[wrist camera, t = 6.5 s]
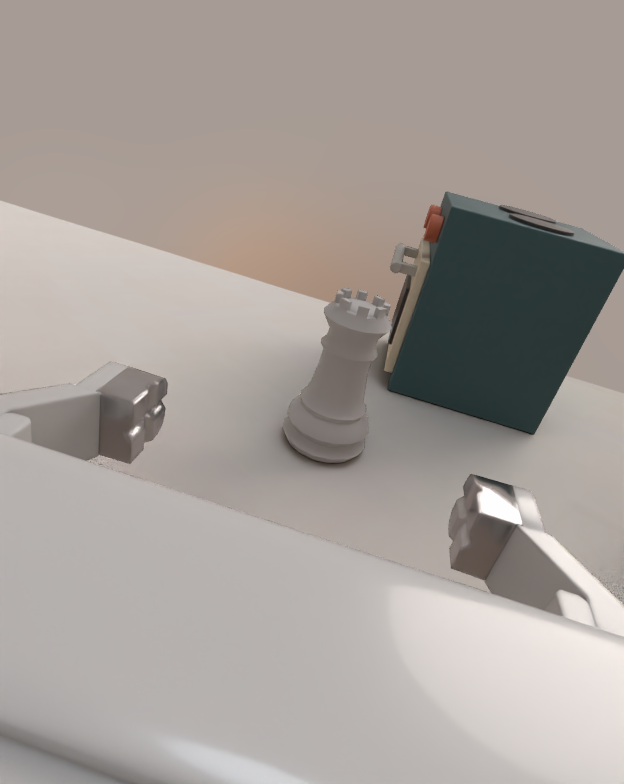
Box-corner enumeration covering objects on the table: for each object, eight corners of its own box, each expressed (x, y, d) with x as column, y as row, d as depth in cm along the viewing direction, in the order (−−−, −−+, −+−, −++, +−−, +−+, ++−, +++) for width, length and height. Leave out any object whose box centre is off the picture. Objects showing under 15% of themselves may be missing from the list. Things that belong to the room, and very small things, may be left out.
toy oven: (355, 380, 34) (413, 191, 28) (369, 332, 42) (416, 180, 36) (534, 434, 33) (633, 251, 27) (512, 375, 41) (584, 225, 35)
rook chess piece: (266, 421, 27) (298, 278, 23) (335, 413, 29) (374, 282, 25) (306, 473, 24) (350, 318, 20) (379, 460, 26) (431, 319, 22)
